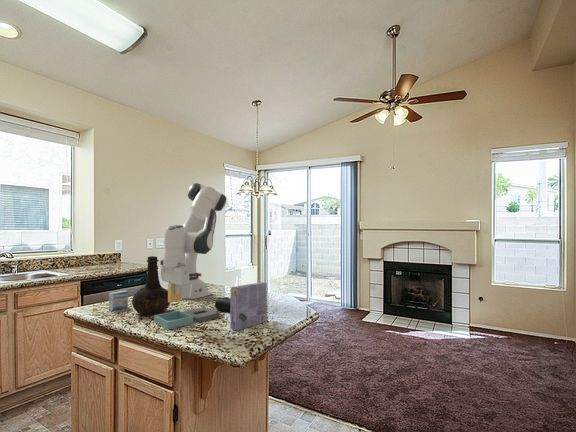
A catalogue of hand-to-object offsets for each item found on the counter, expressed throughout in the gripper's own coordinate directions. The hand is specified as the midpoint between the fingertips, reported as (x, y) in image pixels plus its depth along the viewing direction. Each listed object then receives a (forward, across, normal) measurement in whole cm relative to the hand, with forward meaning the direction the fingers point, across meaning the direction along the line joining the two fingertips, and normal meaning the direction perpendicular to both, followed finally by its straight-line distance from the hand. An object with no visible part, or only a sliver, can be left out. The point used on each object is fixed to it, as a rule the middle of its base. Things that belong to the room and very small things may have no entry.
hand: (174, 293), depth 138 cm
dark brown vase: (+14, +24, 0) cm, 28 cm away
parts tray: (+13, 0, 0) cm, 13 cm away
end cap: (+14, 0, -28) cm, 31 cm away
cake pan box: (+14, -25, -22) cm, 36 cm away
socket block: (+13, 0, -13) cm, 18 cm away
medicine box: (+13, +45, +9) cm, 48 cm away
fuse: (+4, 0, 0) cm, 4 cm away
